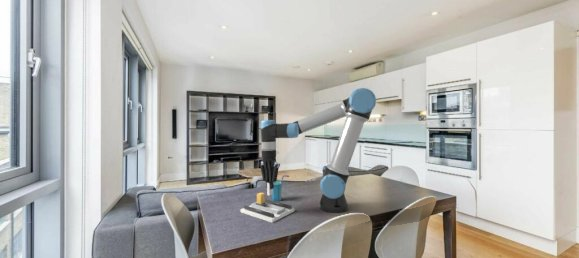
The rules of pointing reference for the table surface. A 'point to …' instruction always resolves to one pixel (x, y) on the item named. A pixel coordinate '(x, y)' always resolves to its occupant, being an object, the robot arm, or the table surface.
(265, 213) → the panel
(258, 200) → the lever
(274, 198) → the cup
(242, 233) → the table surface
